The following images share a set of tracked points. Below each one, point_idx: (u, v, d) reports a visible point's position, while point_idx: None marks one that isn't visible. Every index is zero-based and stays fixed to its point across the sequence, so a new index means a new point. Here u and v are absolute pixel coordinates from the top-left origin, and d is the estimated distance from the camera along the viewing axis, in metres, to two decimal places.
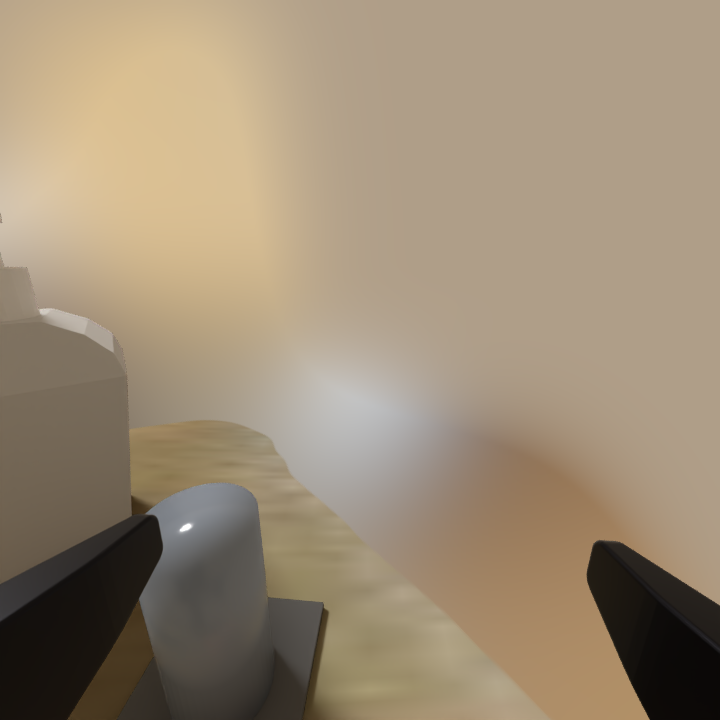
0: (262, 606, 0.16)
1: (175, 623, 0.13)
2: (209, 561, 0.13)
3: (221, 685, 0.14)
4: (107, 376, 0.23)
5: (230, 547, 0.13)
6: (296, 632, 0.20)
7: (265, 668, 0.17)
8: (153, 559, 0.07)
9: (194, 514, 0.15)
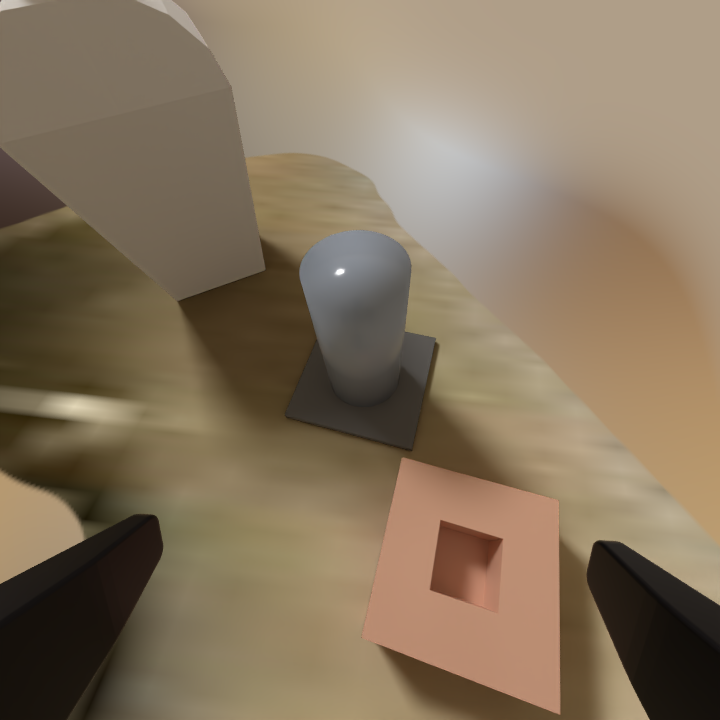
0: (403, 337, 0.19)
1: (347, 342, 0.16)
2: (377, 303, 0.14)
3: (373, 380, 0.20)
4: (211, 87, 0.19)
5: (392, 293, 0.14)
6: (414, 355, 0.25)
7: (398, 374, 0.22)
8: (153, 559, 0.07)
9: (350, 260, 0.16)
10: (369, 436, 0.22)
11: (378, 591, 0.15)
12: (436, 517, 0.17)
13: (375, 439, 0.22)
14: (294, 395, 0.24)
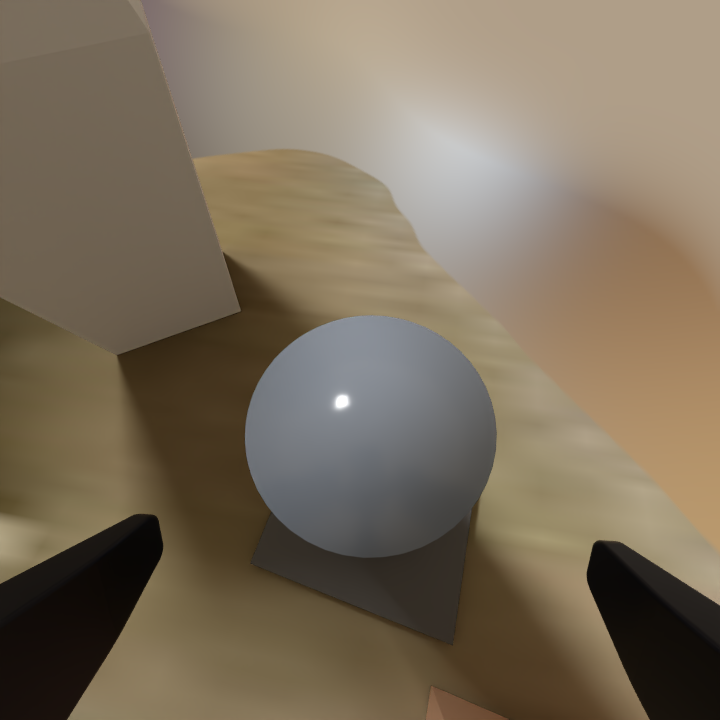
0: None
1: None
2: (424, 535, 0.06)
3: None
4: (110, 32, 0.10)
5: (459, 503, 0.06)
6: None
7: None
8: (153, 559, 0.07)
9: (358, 393, 0.07)
10: (383, 613, 0.14)
11: None
12: None
13: (392, 619, 0.14)
14: (267, 527, 0.15)
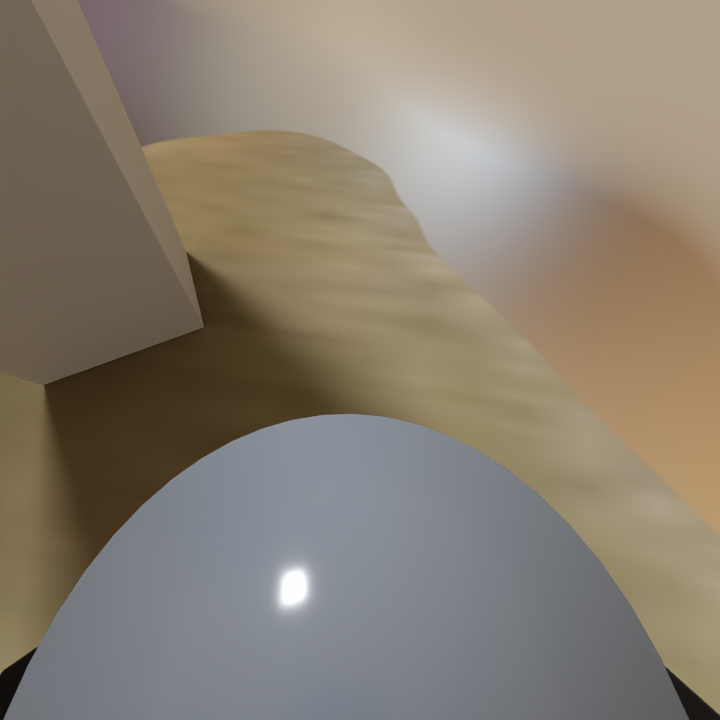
0: None
1: None
2: None
3: None
4: None
5: None
6: None
7: None
8: None
9: (308, 667, 0.03)
10: None
11: None
12: None
13: None
14: None
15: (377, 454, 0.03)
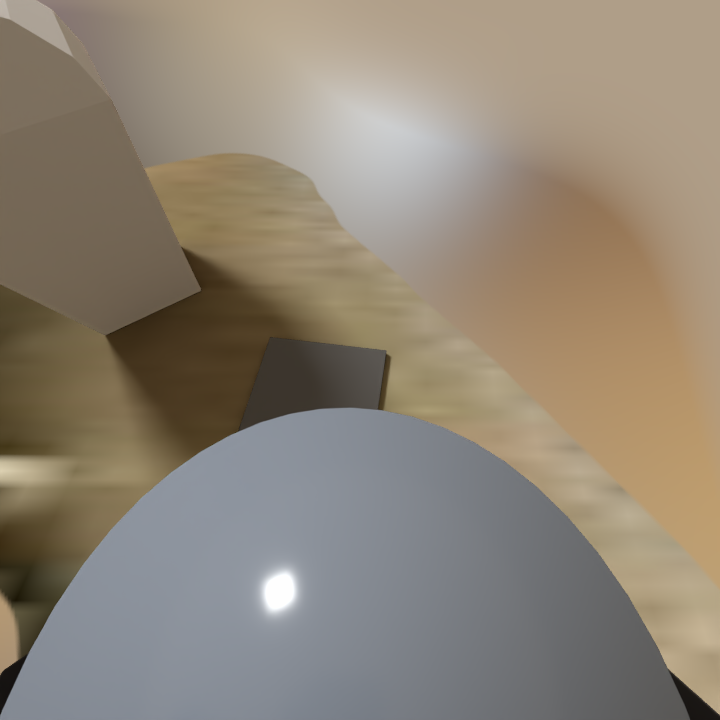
0: None
1: None
2: None
3: None
4: (86, 102, 0.16)
5: None
6: (365, 371, 0.24)
7: None
8: None
9: (307, 657, 0.03)
10: None
11: None
12: None
13: None
14: None
15: (376, 447, 0.03)
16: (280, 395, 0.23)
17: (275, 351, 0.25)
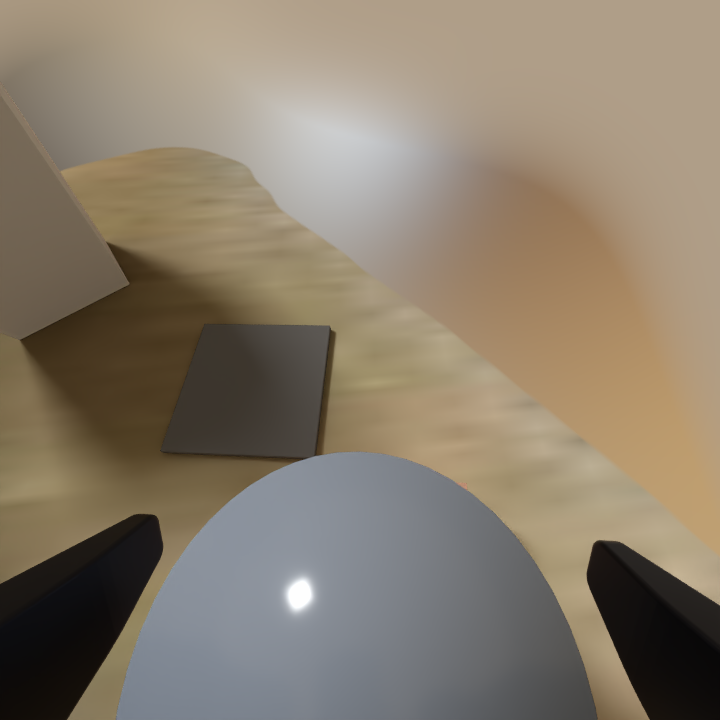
0: None
1: None
2: None
3: None
4: None
5: None
6: (308, 349, 0.22)
7: None
8: (153, 559, 0.07)
9: (332, 633, 0.04)
10: (264, 453, 0.19)
11: None
12: None
13: (271, 455, 0.19)
14: (171, 425, 0.20)
15: (379, 483, 0.05)
16: (216, 382, 0.21)
17: (211, 338, 0.23)
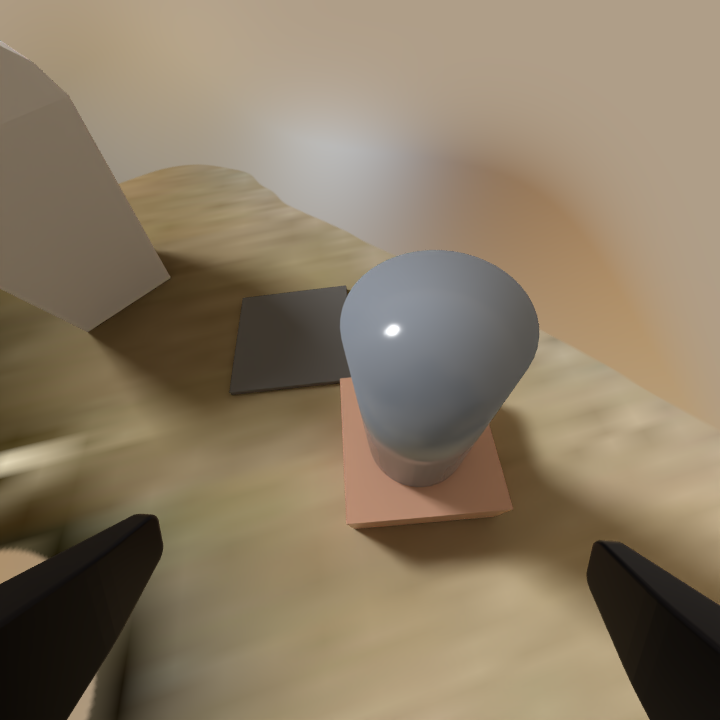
0: None
1: (429, 439, 0.10)
2: (499, 386, 0.08)
3: (449, 465, 0.13)
4: (48, 99, 0.19)
5: (520, 363, 0.08)
6: (331, 304, 0.27)
7: None
8: (153, 559, 0.07)
9: (423, 305, 0.09)
10: (312, 382, 0.24)
11: (350, 485, 0.17)
12: None
13: (318, 383, 0.24)
14: (233, 373, 0.25)
15: (431, 259, 0.10)
16: (262, 338, 0.26)
17: (250, 307, 0.28)
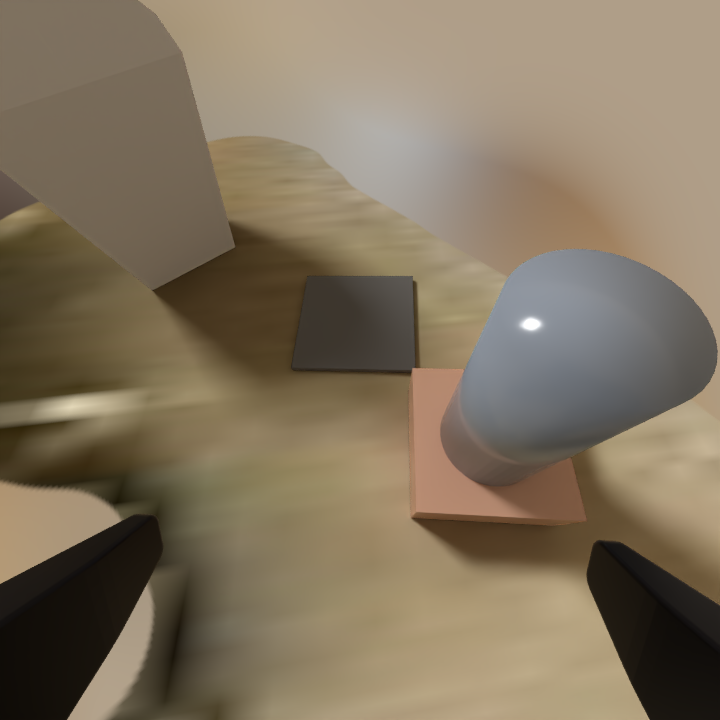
0: None
1: (564, 440, 0.10)
2: (679, 396, 0.08)
3: (544, 469, 0.13)
4: (162, 54, 0.19)
5: (700, 376, 0.08)
6: (397, 293, 0.27)
7: None
8: (153, 559, 0.07)
9: (587, 304, 0.09)
10: (375, 368, 0.24)
11: (420, 474, 0.17)
12: None
13: (380, 369, 0.24)
14: (295, 349, 0.25)
15: (589, 259, 0.10)
16: (326, 318, 0.26)
17: (315, 286, 0.28)
